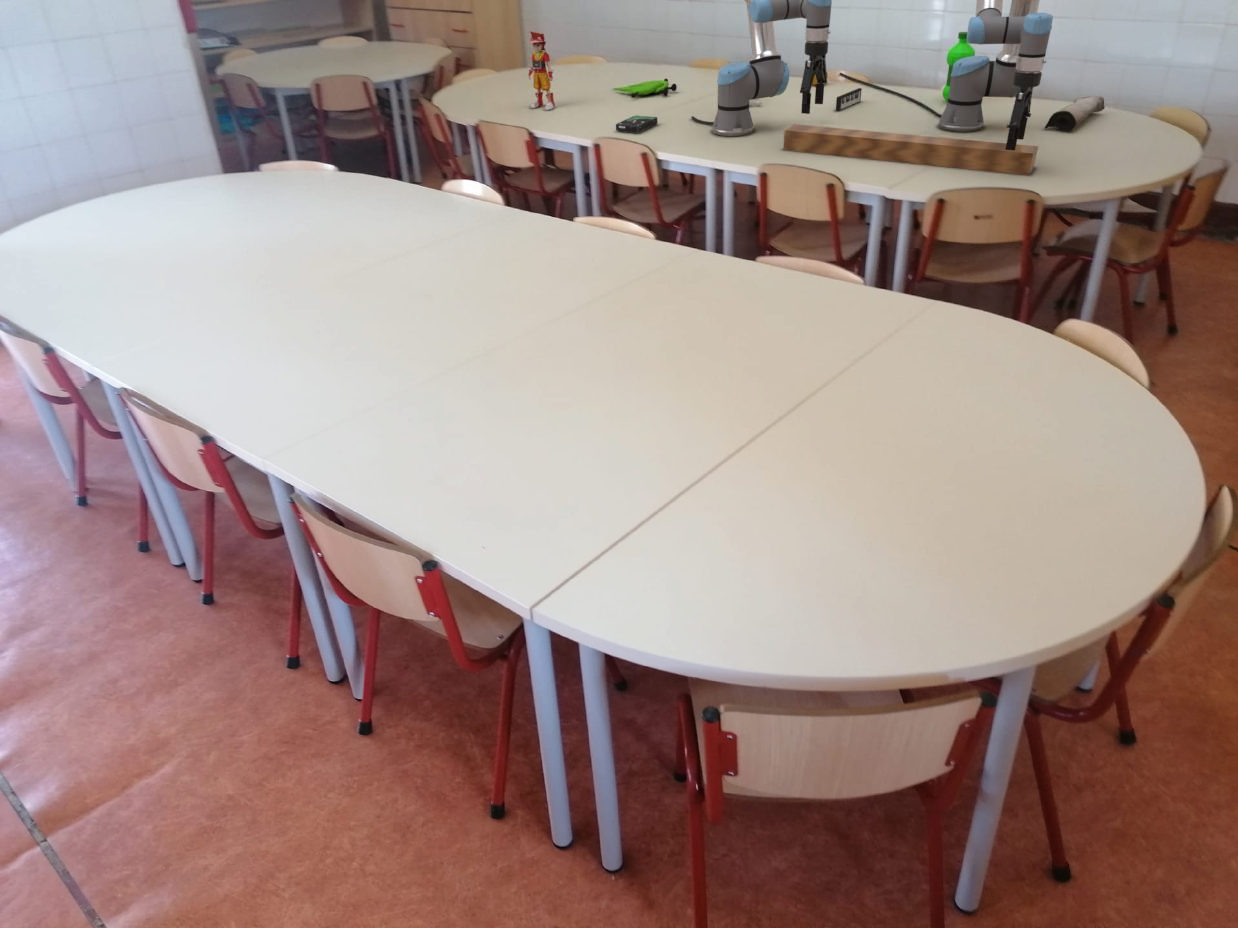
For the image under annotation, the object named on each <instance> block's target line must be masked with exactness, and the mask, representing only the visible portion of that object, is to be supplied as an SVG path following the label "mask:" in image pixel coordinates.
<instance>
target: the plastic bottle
mask: <svg viewBox="0 0 1238 928" xmlns="http://www.w3.org/2000/svg"><path fill="white" fill-rule="evenodd" d="M957 39H958V42H957V43H956V44H954V45H953V46H952V47H951V48H950V49H949V50H948V52H947V54H946V63H947V64H948V69H947V70H948V71H947V76H946V77H947V78H946V84H945V85H944V87H943V90H942V97H943V99H944V100H945V101H946V103H947V102H948V96H949V89H950V83H951V74H952V70H953V65H954V63H955V62H956V61H957V60H959V59H962V58H965V57H971V56H976V51H975V49H974V47H972V45H971V44H970V43H968V42H967V31H959V32H958V36H957Z"/></svg>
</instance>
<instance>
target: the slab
mask: <svg viewBox="0 0 1238 928" xmlns="http://www.w3.org/2000/svg"><path fill="white" fill-rule="evenodd" d="M783 133H784V134H783V151H790V152H800V153H801V152H802V153H808V154H809V153H810V154H820V155H829V156H839V157H849V158H860V159H868V160H877V161H887V162H898V163H907V164H917V165H925V166H926V165H927V166H937V167H946V168H954V169H964V170H965V169H966V170H973V171H974V170H975V171H985V172H993V173H994V172H995V173H1004V174H1013V175H1021V176H1022V175H1024V176H1029V175H1031V172H1032V171H1033V169H1034V168H1035V163H1036V161H1037V160H1036V158H1037V155H1038V150H1039V146H1038V145H1031V144H1019V143H1016V148H1015V151H1014V150H1005V149H1006V144H1007V142H995V141H984V140H975V139H974V140H973V139H962V138H952V137H950V138H949V137H941V136H929V135H920V134H919V135H918V134H907V133H895V132H886V131H885V132H883V131H876V130H875V131H873V130H863V129H862V130H861V129H852V128H839V127H831V126H830V127H829V126H816V125H807V124H797V123H795V124H792V125H790V126H788V127H787V128H786V129H784V132H783Z"/></svg>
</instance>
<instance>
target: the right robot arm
mask: <svg viewBox="0 0 1238 928" xmlns="http://www.w3.org/2000/svg"><path fill="white" fill-rule="evenodd" d="M1003 1H1004V0H976V3H975V16H972V17H970V18H969V21H968V25H967V31H966V32H967V43H969V44H970V45H971V44H972V45H978V46H979V45H1002V50H1001V51H1000V52H999V53H997V54H996V57H995V60H990V59H991V58H990V57H989V56H988V55H975V56H971V57H965V58H962V59H959V60H957V61H956V62H955V63H954V65H953V70H952V74H951V83H950V89H949V96H948V102H947V101H946V106H945V108H944V110H943V112H942V114H941V113H938V112H937V111H935V110H934V109H933V108H931V107H929V106H928V105H926V104H924V103H922V102H921V101H919V100H917V99H915V98H913V97H910V96H908V95H907V94H906V95H905V94H903V93H900V92H898V91H896V90H892V89H888V88H886V87H882V86H879V85H876V84H873V83H870V82H867V81H864V80H860V79H858V78H854V77H852V76H850V75H847V74H845V73H843V72H839V75H840V76H842V77H844V78H845V79H849V80H851V81H854V82H857V83H859V84H863V85H866V86H868V87H872V88H875V89H878V90H882V91H885V92H887V93H891V94H893V95H896V96H898V97H902V98H904V99H906V100H909V101H911V102H913V103H915V104H917V105H918V106H920V107H923V108H924V109H926V110H928V111H929V112H931V113H932V114H933V115H935V116H936V117H939V118H940V119H939V121H938V128H940V129H941V130H944V131H948V132H955V133H970V132H977V131H980V130H982V129H983V128H984V121H985V120H984V114H983V105H982V104H983V98H1010V99H1012V98H1015V100H1014V104H1013V108H1012V111H1011V115H1010V120H1009V123H1008V124H1007V125H1006V128H1007V129H1008V135H1007V137H1006V143H1007V144H1006V149H1005V150H1014V151H1015V148H1016V144H1018V143H1017V142H1018V140H1024V139H1025V134H1026V129H1027V123H1028V119H1029V118H1031V116H1032V113H1031V105H1032V98H1033V91H1034V88H1037V87H1039V86H1040V85H1041V82H1042V81H1041V80H1042V75H1043V72H1042V70H1044V64H1046V63H1047V59H1045V58H1046V55H1047V49H1048V45H1049V40H1050V35H1051V30H1052V28H1053V18H1054V17H1053V15H1052V14H1051V13H1047V12H1039V11H1038V10H1039V6H1040V1H1041V0H1011V3H1010V9H1009V14H1008V16H1003Z"/></svg>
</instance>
